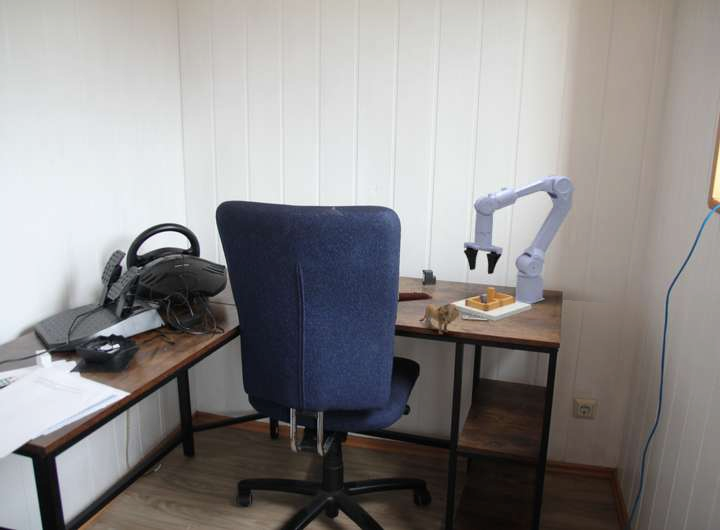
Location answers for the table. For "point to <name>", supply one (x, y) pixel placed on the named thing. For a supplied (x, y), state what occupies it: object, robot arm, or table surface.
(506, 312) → the board
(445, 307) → the lion figurine
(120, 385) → the table surface
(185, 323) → the table surface
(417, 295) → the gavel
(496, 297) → the orange link
